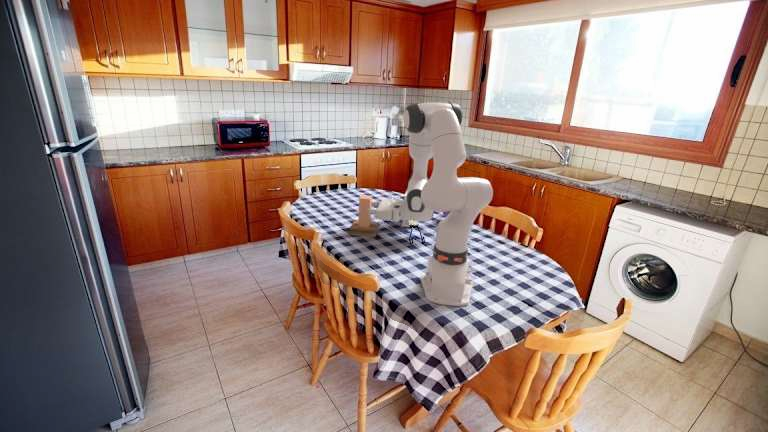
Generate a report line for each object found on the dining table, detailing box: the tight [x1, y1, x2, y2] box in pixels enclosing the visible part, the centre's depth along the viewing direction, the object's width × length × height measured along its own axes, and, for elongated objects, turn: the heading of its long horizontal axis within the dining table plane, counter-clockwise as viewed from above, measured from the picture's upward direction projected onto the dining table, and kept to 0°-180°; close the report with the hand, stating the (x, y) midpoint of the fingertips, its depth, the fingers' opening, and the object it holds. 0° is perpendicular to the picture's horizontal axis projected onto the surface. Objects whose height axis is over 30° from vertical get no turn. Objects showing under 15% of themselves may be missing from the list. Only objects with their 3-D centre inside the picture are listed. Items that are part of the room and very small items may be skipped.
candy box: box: [400, 188, 410, 229], centre depth 191 cm, size 14×6×16 cm, turn 168°
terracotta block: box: [358, 194, 373, 228], centre depth 177 cm, size 5×5×14 cm
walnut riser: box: [348, 219, 380, 238], centre depth 179 cm, size 12×12×3 cm
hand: (369, 207), depth 175 cm, fingers open, 8 cm apart
